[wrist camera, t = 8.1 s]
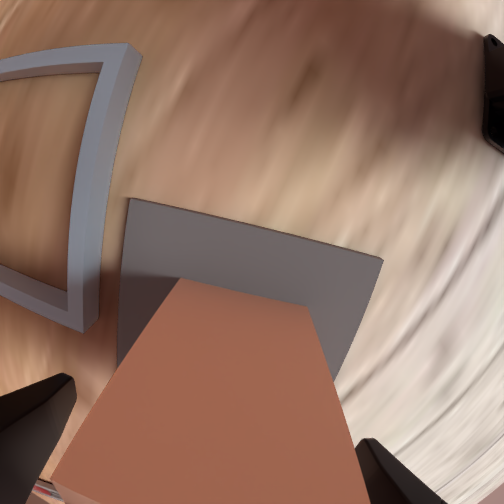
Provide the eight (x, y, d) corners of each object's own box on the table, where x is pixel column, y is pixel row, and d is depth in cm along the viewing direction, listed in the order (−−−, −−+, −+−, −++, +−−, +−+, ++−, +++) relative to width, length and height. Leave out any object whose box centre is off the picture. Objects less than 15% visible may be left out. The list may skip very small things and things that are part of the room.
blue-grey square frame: (142, 56, 9) (128, 43, 8) (98, 318, 12) (83, 333, 11) (-15, 72, 9) (-31, 69, 7) (-36, 257, 12) (-51, 264, 10)
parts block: (307, 306, 11) (378, 530, 3) (273, 398, 13) (281, 580, 4) (180, 277, 11) (49, 478, 2) (167, 376, 12) (100, 548, 4)
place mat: (380, 257, 11) (383, 260, 11) (303, 430, 14) (304, 435, 13) (134, 197, 11) (130, 198, 10) (120, 390, 13) (118, 394, 13)
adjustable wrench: (-16, 435, 19) (-23, 444, 17) (143, 485, 17) (137, 505, 15) (19, 474, 21) (13, 483, 19) (180, 521, 19) (177, 537, 17)
